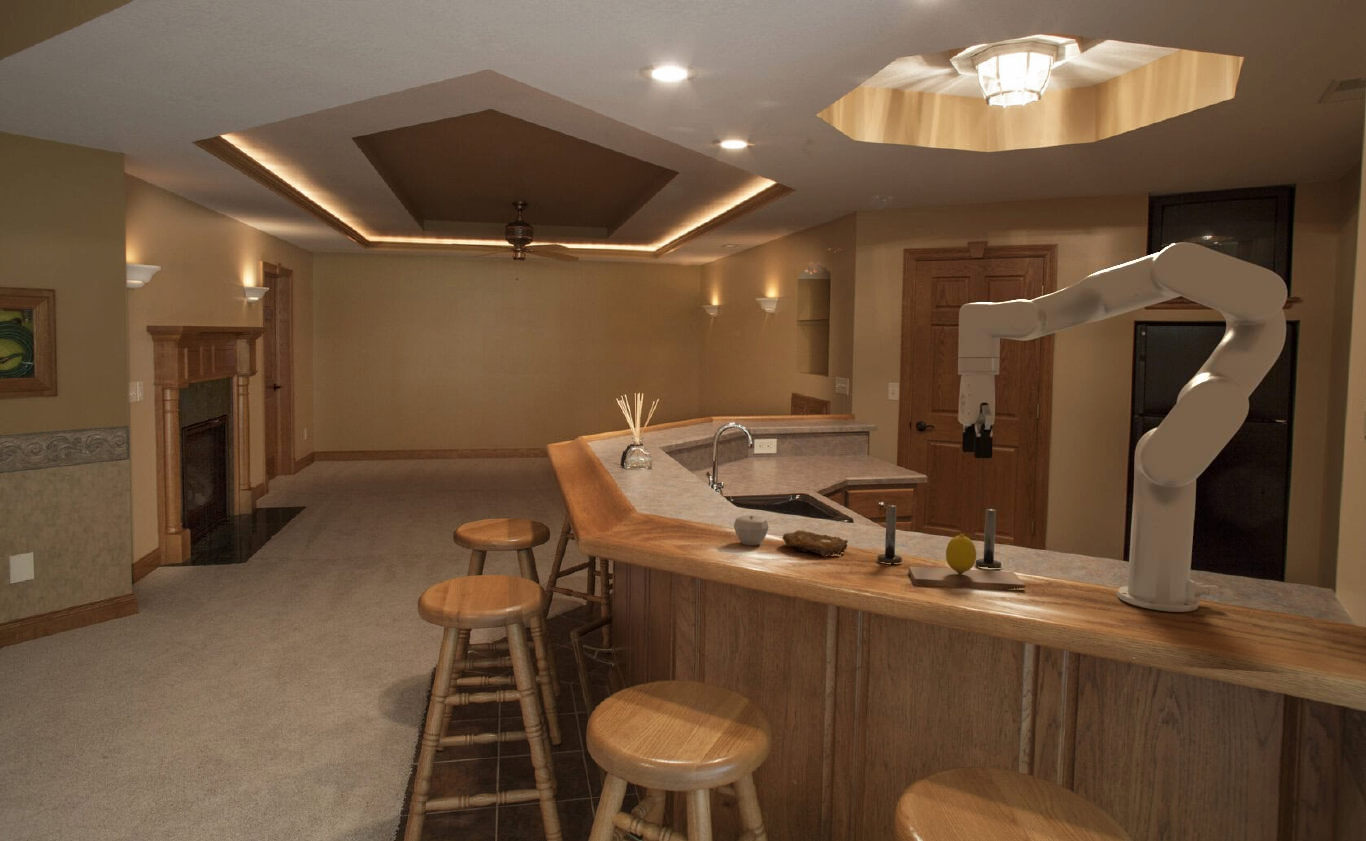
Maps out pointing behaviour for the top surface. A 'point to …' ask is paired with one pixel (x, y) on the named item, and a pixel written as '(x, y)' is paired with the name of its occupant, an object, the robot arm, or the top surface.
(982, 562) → the post arm side
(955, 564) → the lemon
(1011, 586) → the walnut board
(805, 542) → the decorative rock
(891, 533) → the post far side
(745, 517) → the apple
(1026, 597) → the top surface
